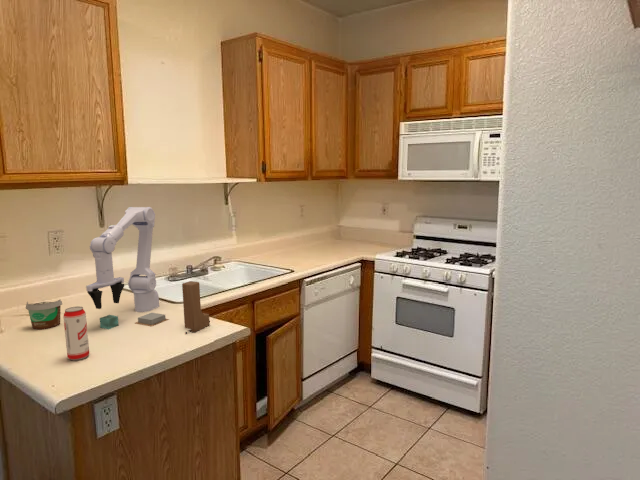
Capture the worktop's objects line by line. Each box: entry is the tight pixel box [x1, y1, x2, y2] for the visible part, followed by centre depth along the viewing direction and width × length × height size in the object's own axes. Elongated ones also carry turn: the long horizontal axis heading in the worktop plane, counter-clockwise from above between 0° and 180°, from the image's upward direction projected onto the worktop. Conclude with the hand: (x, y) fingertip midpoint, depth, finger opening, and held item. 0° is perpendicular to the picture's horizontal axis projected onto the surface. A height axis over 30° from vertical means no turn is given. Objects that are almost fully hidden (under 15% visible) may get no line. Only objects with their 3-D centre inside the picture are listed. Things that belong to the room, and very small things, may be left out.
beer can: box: [63, 306, 90, 362], centre depth 143 cm, size 6×6×16 cm
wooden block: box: [181, 280, 211, 333], centre depth 168 cm, size 9×4×18 cm, turn 155°
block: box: [99, 314, 120, 330], centre depth 169 cm, size 4×4×5 cm
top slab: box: [137, 312, 167, 325], centre depth 174 cm, size 7×7×2 cm
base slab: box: [134, 318, 170, 327], centre depth 174 cm, size 9×9×2 cm
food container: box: [25, 299, 63, 331], centre depth 172 cm, size 12×6×10 cm, turn 105°
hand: (107, 305), depth 168 cm, fingers open, 7 cm apart
